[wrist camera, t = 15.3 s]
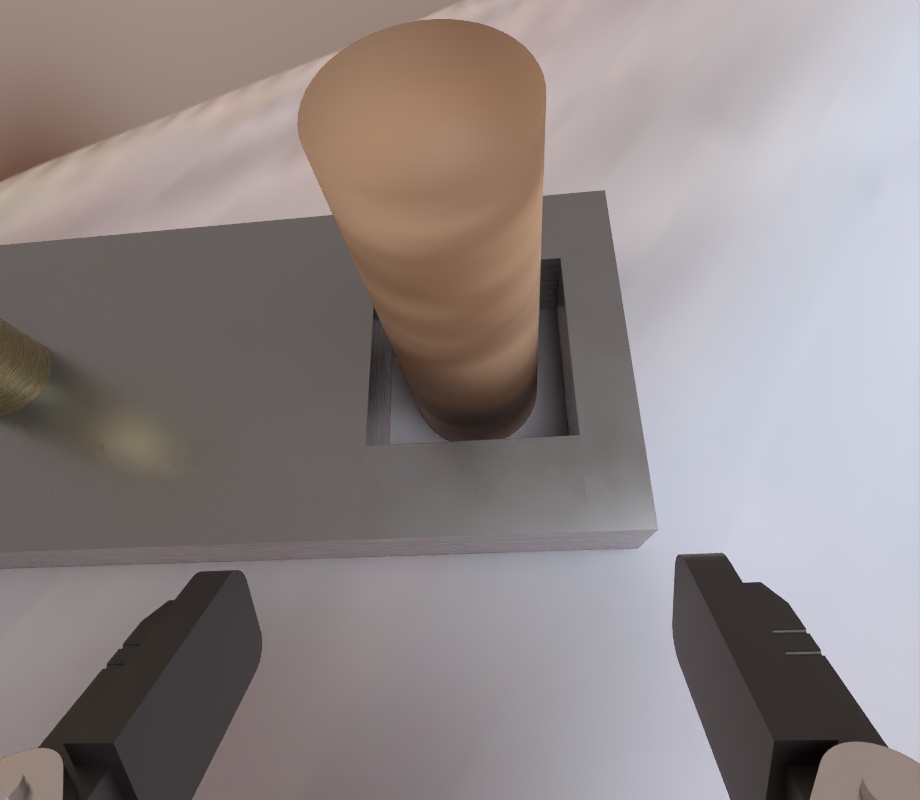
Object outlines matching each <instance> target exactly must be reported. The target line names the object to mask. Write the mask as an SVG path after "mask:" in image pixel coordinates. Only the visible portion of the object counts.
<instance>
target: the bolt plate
mask: <svg viewBox="0 0 920 800" xmlns="http://www.w3.org/2000/svg"><path fill="white" fill-rule="evenodd" d="M553 307H556V308H557V318H558V328H559V338H560V348H561V358H562V368H563V378H564V388H565V398H566V408H567V418H568V428H569V436H553V437H534V438H514V439H495V440H475V441H456V442H436V443H417V444H397V445H389V432H390V406H391V381H392V356H393V348H392V346H391V344H390V342H389V339H388V337H387V335H386V333H385V330H384V328H383V326H382V324H381V321H380V319H379V317H378V315H377V312H376V310H375V308H374V306H373V303H372V301H371V299H370V297H369V294H368V292H367V290H366V288H365V286H364V283H363V281H362V279H361V277H360V274H359V272H358V270H357V268H356V265H355V263H354V261H353V259H352V256H351V254H350V252H349V250H348V247H347V245H346V243H345V241H344V238H343V236H342V234H341V232H340V229H339V227H338V225H337V223H336V221H335V218H334V216H333V215H329V216H318V217H307V218H296V219H285V220H274V221H263V222H252V223H241V224H230V225H219V226H208V227H197V228H186V229H175V230H164V231H153V232H142V233H131V234H120V235H109V236H98V237H87V238H76V239H65V240H54V241H43V242H32V243H21V244H10V245H0V569H3V568H34V567H65V566H96V565H127V564H158V563H189V562H220V561H251V560H282V559H313V558H344V557H375V556H406V555H437V554H468V553H499V552H530V551H561V550H592V549H623V548H639V547H640V546H641V545H642V544H643V543H644V542H645V541H646V540H647V539H648V538H649V537H650V536H652V535H653V534H654V533H655V532H656V531H657V530H658V526H657V519H656V513H655V507H654V500H653V494H652V488H651V481H650V475H649V469H648V462H647V456H646V449H645V443H644V437H643V430H642V424H641V418H640V411H639V405H638V399H637V392H636V386H635V380H634V373H633V367H632V361H631V354H630V348H629V341H628V335H627V329H626V322H625V316H624V310H623V303H622V297H621V291H620V284H619V278H618V272H617V265H616V259H615V252H614V246H613V240H612V233H611V227H610V221H609V214H608V208H607V202H606V195H605V190H603V191H592V192H581V193H570V194H559V195H548V196H543V206H542V237H541V268H540V299H539V308H553Z"/></svg>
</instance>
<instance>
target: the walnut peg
mask: <svg viewBox="0 0 920 800" xmlns="http://www.w3.org/2000/svg"><path fill="white" fill-rule="evenodd" d="M545 113H546V85H545V80H544V75H543V73H542V71H541V68H540V66H539V64H538V62H537V61H536V59H535V58H534V56H533V55H532V54H531V53H530V52H529V51H528V49H527V48H526V47H525V46H523V45H522V44H521V43H520V42H518V41H517V40H516V39H514V38H513V37H511V36H509V35H508V34H506V33H504V32H502V31H499V30H497V29H495V28H492V27H489V26H486V25H483V24H479V23H474V22H469V21H463V20H452V19H433V20H421V21H415V22H409V23H404V24H400V25H396V26H392V27H389V28H386V29H383V30H380V31H378V32H375V33H373V34H370V35H368V36H366V37H364V38H362V39H360V40H358V41H356V42H355V43H353V44H351V45H349V46H348V47H346V48H345V49H343V50H342V51H340V52H339V53H338V54H337V55H335V56H334V57H333V58H332V59H331V60H329V61H328V62H327V63H326V64H325V65H324V66H323V67H322V68H321V69H320V70H319V72H318V73H317V74H316V76H315V77H314V78H313V79H312V81H311V82H310V84H309V86H308V88H307V89H306V91H305V93H304V96H303V98H302V101H301V104H300V108H299V112H298V132H299V137H300V140H301V144H302V147H303V149H304V151H305V153H306V156H307V158H308V160H309V162H310V165H311V167H312V169H313V171H314V173H315V176H316V178H317V180H318V182H319V185H320V187H321V189H322V191H323V194H324V196H325V198H326V200H327V203H328V205H329V207H330V209H331V212H332V214H333V216H334V218H335V221H336V223H337V225H338V227H339V229H340V232H341V234H342V236H343V238H344V241H345V243H346V245H347V247H348V250H349V252H350V254H351V256H352V259H353V261H354V263H355V265H356V268H357V270H358V272H359V274H360V277H361V279H362V281H363V283H364V286H365V288H366V290H367V292H368V294H369V297H370V299H371V301H372V303H373V306H374V308H375V310H376V312H377V315H378V317H379V319H380V321H381V324H382V326H383V328H384V330H385V333H386V335H387V337H388V339H389V342H390V344H391V346H392V348H393V350H394V353H395V355H396V357H397V359H398V362H399V364H400V366H401V368H402V371H403V373H404V375H405V377H406V380H407V382H408V384H409V386H410V389H411V391H412V393H413V395H414V398H415V400H416V402H417V404H418V407H419V409H420V411H421V413H422V415H423V417H424V419H425V421H426V422H427V423H428V425H429V426H430V427H431V428H432V429H433V430H434V431H435V432H436V433H438V434H439V435H440V436H442V437H443V438H445V439H447V440H449V441H452V442H456V441H475V440H495V439H505V438H507V437H509V436H510V435H512V434H513V433H514V432H516V431H517V430H518V429H519V428H520V427H521V426H522V425H523V424H524V423H525V421H526V420H527V419H528V417H529V415H530V414H531V411H532V409H533V407H534V403H535V400H536V392H537V361H538V330H539V299H540V268H541V237H542V206H543V175H544V144H545Z"/></svg>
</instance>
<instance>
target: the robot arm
mask: <svg viewBox="0 0 920 800" xmlns="http://www.w3.org/2000/svg"><path fill="white" fill-rule="evenodd" d="M672 628H673V639H674V645H675V650H676V654H677V658H678V661H679V664H680V667H681V669H682V672H683V675H684V677H685V680H686V683H687V685H688V688H689V691H690V693H691V696H692V698H693V701H694V704H695V706H696V709H697V712H698V714H699V717H700V720H701V722H702V725H703V728H704V730H705V733H706V736H707V738H708V741H709V744H710V746H711V749H712V752H713V754H714V757H715V760H716V762H717V765H718V768H719V770H720V773H721V776H722V778H723V781H724V783H725V786H726V789H727V791H728V794H729V797H730V799H731V800H920V764H919V763H918V762H916V761H915V760H913V759H911V758H910V757H908V756H906V755H904V754H902V753H900V752H897V751H895V750H892V749H890V748H889V747H888V746H887V745H886V744H885V742H884V741H883V739H882V738H881V737H880V735H879V734H878V732H877V731H876V729H875V728H874V726H873V725H872V724H871V722H870V721H869V719H868V718H867V716H866V715H865V713H864V712H863V711H862V709H861V708H860V706H859V705H858V703H857V702H856V700H855V699H854V697H853V696H852V695H851V693H850V692H849V690H848V689H847V687H846V686H845V684H844V683H843V682H842V680H841V679H840V677H839V676H838V674H837V673H836V671H835V670H834V669H833V667H832V666H831V664H830V663H829V661H828V660H827V658H826V657H825V656H822V654H821V650H820V648H819V647H818V645H817V644H816V643H815V641H814V640H813V638H812V637H811V635H810V634H807V633H806V628H805V627H804V625H803V624H802V622H801V621H800V619H799V618H798V616H797V615H796V614H795V612H794V611H793V609H792V608H791V606H790V605H789V603H787V602H786V601H785V600H783V599H782V598H781V597H780V596H778V595H777V594H776V593H774V592H773V591H772V590H770V589H769V588H768V587H766V586H765V585H764V584H762V583H761V582H752V583H743V582H742V581H741V579H740V578H739V576H738V574H737V573H736V571H735V569H734V568H733V566H732V564H731V563H730V561H729V560H728V558H727V557H726V556H725V555H724V554H723V553H709V554H683V555H678V556H677V558H676V562H675V578H674V599H673V620H672ZM261 651H262V635H261V631H260V627H259V623H258V620H257V616H256V613H255V609H254V605H253V602H252V598H251V594H250V591H249V587H248V584H247V580H246V577H245V575H244V574H243V573H242V572H241V571H239V570H231V571H205V572H199V573H197V574H195V575H194V576H193V577H192V579H191V580H190V581H189V583H188V584H187V585H186V586H185V588H184V589H183V590H182V592H181V593H180V594H179V595H178V597H177V598H176V599H175V600H170V601H168V602H166V603H165V604H164V605H162V606H161V607H160V608H158V609H157V610H156V611H154V612H153V613H152V614H151V615H149V616H148V617H147V618H145V619H144V620H143V621H142V622H141V623H140V624H139V625H138V627H137V628H136V629H135V630H134V631H133V633H132V634H131V635H130V636H129V638H128V639H127V640H126V641H125V642H124V644H123V648H122V649H119V650H118V651H117V652H116V653H115V655H114V656H113V657H112V658H111V660H110V661H109V662H108V663H107V668H106V669H102V671H101V672H100V673H99V674H98V675H97V677H96V678H95V679H94V680H93V682H92V683H91V684H90V685H89V686H88V688H87V689H86V690H85V691H84V693H83V694H82V695H81V696H80V697H79V699H78V700H77V701H76V702H75V704H74V705H73V706H72V707H71V708H70V710H69V711H68V712H67V713H66V715H65V716H64V717H63V718H62V719H61V721H60V722H59V723H58V724H57V726H56V727H55V728H54V729H53V730H52V732H51V733H50V734H49V735H48V737H47V738H46V739H45V740H44V741H43V743H42V744H41V745H40V746H39V747H38V748H34V749H29V750H24V751H21V752H18V753H15V754H13V755H11V756H8V757H6V758H4V759H2V760H0V800H192V798H193V796H194V794H195V792H196V790H197V788H198V786H199V784H200V782H201V780H202V778H203V776H204V774H205V772H206V770H207V768H208V766H209V764H210V762H211V760H212V758H213V756H214V754H215V752H216V750H217V748H218V746H219V744H220V742H221V740H222V738H223V736H224V734H225V732H226V730H227V728H228V726H229V724H230V722H231V720H232V718H233V716H234V714H235V712H236V710H237V708H238V706H239V704H240V702H241V700H242V698H243V696H244V694H245V692H246V690H247V688H248V686H249V684H250V682H251V680H252V678H253V676H254V674H255V672H256V670H257V668H258V665H259V662H260V658H261Z"/></svg>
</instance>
